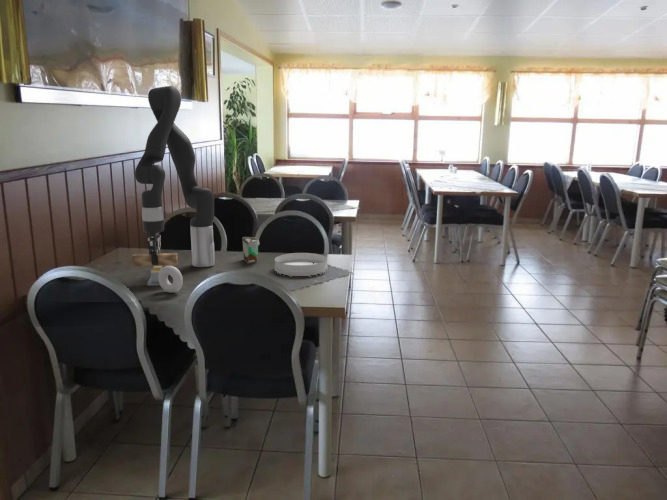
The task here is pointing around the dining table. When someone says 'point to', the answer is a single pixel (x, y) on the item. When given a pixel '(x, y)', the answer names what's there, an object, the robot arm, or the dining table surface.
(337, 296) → the dining table surface
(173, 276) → the donut
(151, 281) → the ridge block
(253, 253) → the food container
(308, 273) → the dish
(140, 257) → the walnut bar
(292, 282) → the dining table surface
